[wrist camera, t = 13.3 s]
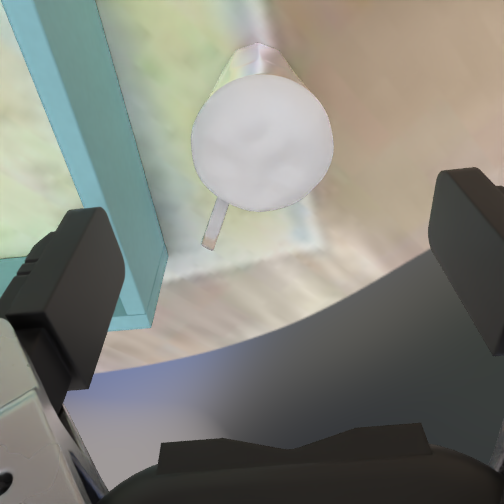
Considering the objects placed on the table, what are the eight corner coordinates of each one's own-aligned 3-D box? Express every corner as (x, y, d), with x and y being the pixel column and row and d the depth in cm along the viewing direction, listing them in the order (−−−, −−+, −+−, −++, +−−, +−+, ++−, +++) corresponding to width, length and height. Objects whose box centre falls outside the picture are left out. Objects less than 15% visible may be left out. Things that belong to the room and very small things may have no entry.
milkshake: (181, 104, 21) (141, 212, 13) (245, 2, 18) (245, 58, 10) (256, 155, 22) (262, 279, 14) (325, 68, 20) (378, 161, 12)
